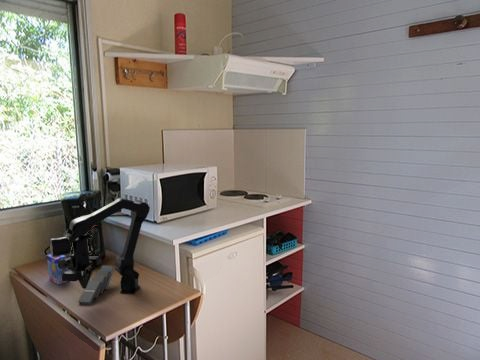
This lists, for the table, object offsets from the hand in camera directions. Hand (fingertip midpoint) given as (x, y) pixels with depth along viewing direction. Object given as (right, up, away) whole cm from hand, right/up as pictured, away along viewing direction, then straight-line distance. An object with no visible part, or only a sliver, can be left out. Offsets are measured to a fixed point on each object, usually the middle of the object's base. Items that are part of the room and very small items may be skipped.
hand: (84, 288), depth 140 cm
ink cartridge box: (-22, -4, +23) cm, 32 cm away
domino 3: (+1, -5, +8) cm, 10 cm away
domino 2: (+2, -4, +13) cm, 13 cm away
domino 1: (0, -6, 0) cm, 6 cm away
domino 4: (+1, -5, +4) cm, 7 cm away
